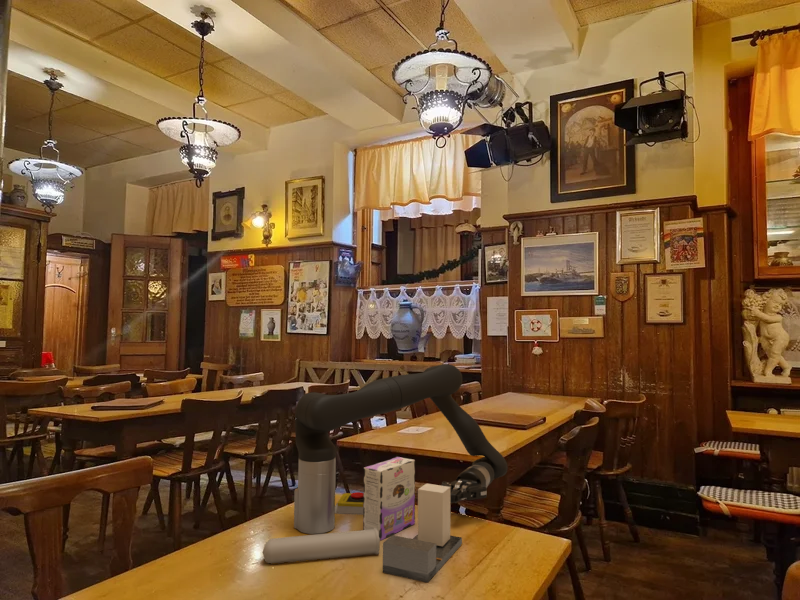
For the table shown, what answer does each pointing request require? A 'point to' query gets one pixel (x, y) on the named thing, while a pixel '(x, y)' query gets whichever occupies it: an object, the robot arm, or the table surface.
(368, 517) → the candy box
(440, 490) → the block
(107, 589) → the table surface
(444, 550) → the grey base block
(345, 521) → the table surface
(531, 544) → the table surface
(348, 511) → the emergency button
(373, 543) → the tube
